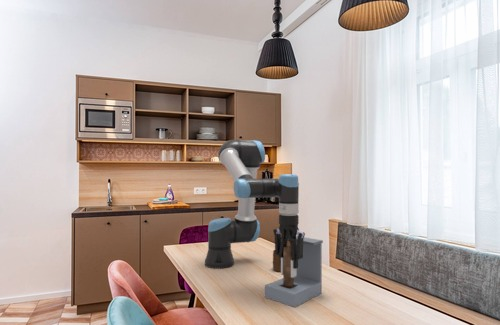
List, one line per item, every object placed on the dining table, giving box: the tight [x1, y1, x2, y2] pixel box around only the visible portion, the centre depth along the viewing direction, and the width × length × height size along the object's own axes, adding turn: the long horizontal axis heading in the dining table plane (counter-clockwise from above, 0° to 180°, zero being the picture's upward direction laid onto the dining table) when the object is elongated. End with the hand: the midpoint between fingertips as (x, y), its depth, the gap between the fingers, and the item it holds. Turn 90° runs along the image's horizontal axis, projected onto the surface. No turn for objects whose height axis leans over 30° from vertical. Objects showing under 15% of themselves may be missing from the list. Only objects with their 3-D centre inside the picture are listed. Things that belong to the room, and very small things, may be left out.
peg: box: [282, 245, 294, 288], centre depth 130 cm, size 4×4×15 cm
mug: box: [272, 249, 281, 273], centre depth 164 cm, size 12×8×9 cm, turn 22°
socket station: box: [264, 235, 324, 308], centre depth 133 cm, size 15×18×21 cm
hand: (288, 275), depth 130 cm, fingers closed on peg, 4 cm apart
